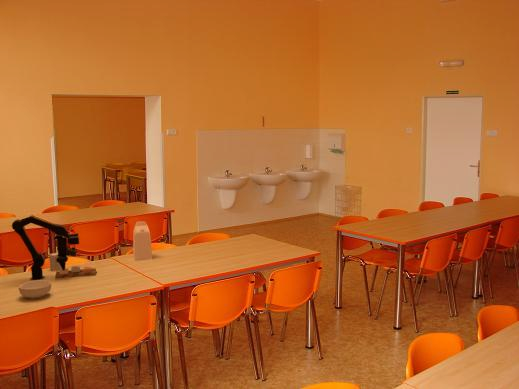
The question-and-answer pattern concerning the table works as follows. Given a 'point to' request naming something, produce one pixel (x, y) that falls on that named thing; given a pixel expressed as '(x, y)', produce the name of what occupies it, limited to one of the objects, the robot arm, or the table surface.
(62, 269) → the tile one pip
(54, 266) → the small box
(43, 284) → the cereal bowl
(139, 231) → the milk
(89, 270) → the tile three pip
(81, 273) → the tile tray
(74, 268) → the tile two pip
